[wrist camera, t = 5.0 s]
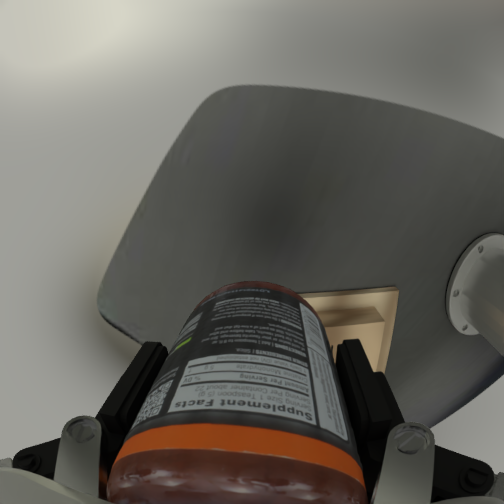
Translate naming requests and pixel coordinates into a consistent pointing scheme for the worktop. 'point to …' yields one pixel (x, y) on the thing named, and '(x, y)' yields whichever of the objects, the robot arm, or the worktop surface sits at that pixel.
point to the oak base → (363, 300)
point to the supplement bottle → (243, 411)
